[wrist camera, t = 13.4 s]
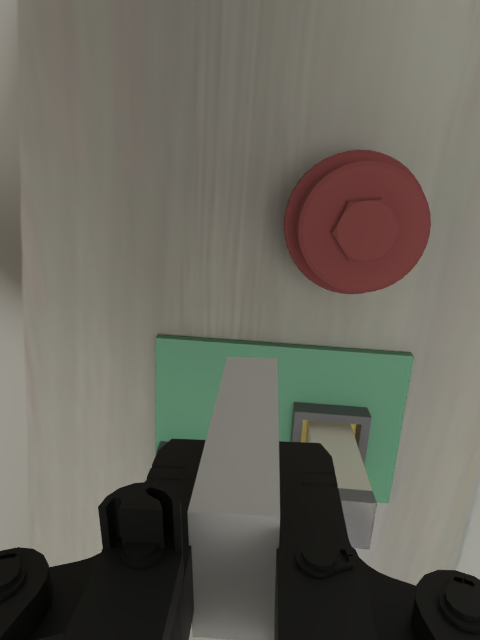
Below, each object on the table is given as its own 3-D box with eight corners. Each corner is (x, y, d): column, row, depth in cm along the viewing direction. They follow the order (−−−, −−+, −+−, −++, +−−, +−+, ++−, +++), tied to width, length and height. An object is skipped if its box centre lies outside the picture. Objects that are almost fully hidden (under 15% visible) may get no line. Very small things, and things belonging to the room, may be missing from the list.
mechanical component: (399, 151, 38) (396, 270, 41) (278, 161, 39) (284, 277, 42) (455, 137, 27) (447, 304, 29) (282, 152, 27) (289, 313, 30)
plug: (307, 417, 45) (320, 498, 33) (349, 420, 44) (376, 503, 33) (303, 453, 46) (314, 544, 34) (344, 457, 46) (369, 549, 34)
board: (158, 334, 44) (149, 345, 41) (410, 352, 43) (421, 365, 40) (158, 477, 49) (150, 496, 46) (386, 496, 48) (394, 518, 45)
